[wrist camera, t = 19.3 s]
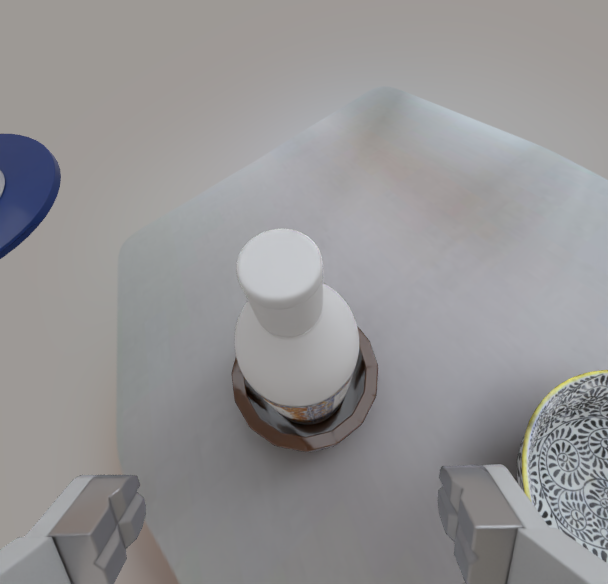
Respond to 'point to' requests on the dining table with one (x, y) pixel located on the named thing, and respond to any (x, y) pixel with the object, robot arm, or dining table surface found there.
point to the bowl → (570, 460)
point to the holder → (319, 434)
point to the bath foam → (293, 328)
